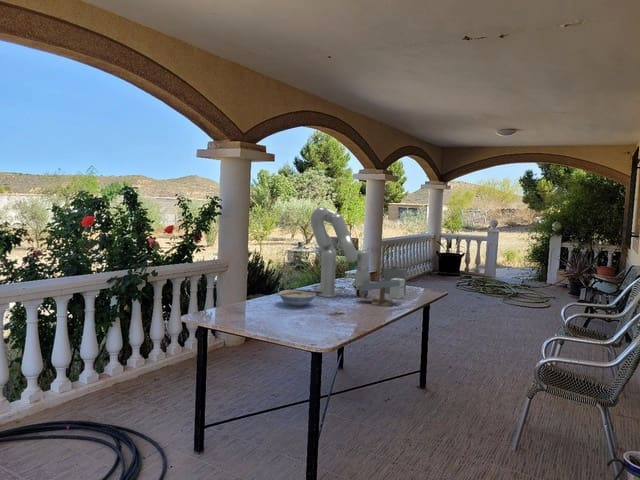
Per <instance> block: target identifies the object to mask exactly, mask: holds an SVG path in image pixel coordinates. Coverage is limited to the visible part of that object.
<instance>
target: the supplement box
mask: <svg viewBox="0 0 640 480" xmlns="http://www.w3.org/2000/svg"><path fill="white" fill-rule="evenodd" d="M397 279H399V278H394V279H390V280H397ZM399 280H400V286H395V287H390V293H389V299H398V300H400V299H402V298H404V297H405V294H404V283H405V279H399Z"/></svg>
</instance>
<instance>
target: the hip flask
mask: <svg viewBox="0 0 640 480" xmlns="http://www.w3.org/2000/svg"><path fill="white" fill-rule="evenodd" d="M398 267H399V266H398V265H397V264H396V265H395V264H393V265H392V267H383V282H384V281H390V279H394V278H399V279H405V283H404V295H406V294H407V293H406V289H407V288H406V286H407V271H408V270H407V269H406V268H405V269H404V268H398ZM385 294H390V287H388V288H385Z"/></svg>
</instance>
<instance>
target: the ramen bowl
mask: <svg viewBox="0 0 640 480" xmlns="http://www.w3.org/2000/svg"><path fill="white" fill-rule="evenodd" d="M318 293H319V294H321V293H322V292H316V291H314V290H307V289H293V288H288V289H284V290H281V291H278V295H279V297H280V299H281V300H282V302H284V303H286V304H289V305H291V306H293V307H302V306H304V305H307V304H309V303H310V302H312V301H313V300H314V299H315V297H316V295H317V294H318Z"/></svg>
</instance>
